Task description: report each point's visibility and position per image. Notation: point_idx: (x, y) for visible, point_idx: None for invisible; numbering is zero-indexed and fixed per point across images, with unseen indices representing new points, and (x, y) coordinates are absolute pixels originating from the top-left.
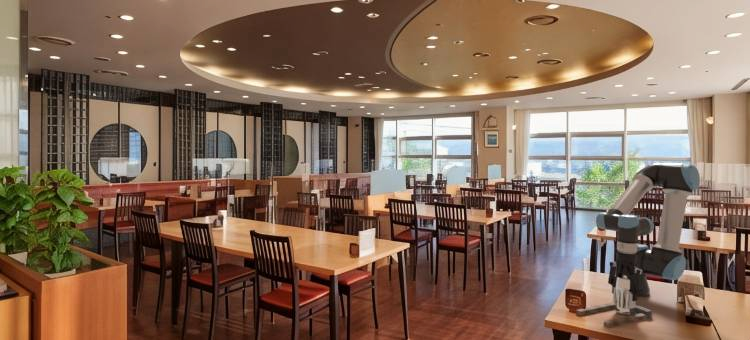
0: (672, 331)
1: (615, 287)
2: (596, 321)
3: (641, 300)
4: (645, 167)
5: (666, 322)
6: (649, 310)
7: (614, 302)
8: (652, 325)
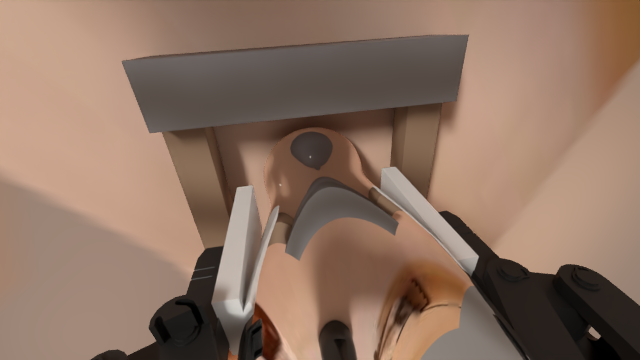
0: (576, 114)
1: None
2: None
3: None
4: None
5: (525, 9)
6: (452, 56)
7: (260, 228)
8: (485, 147)
